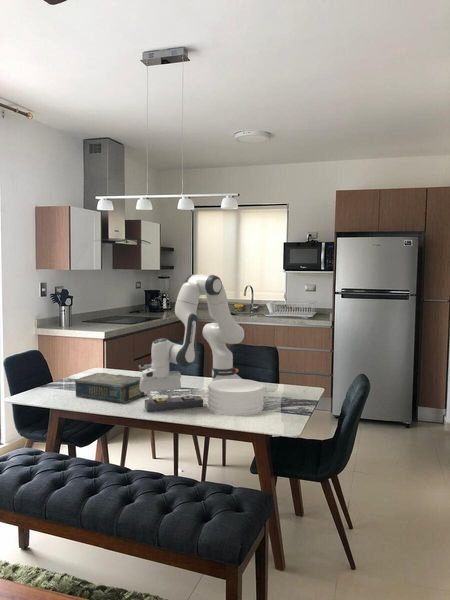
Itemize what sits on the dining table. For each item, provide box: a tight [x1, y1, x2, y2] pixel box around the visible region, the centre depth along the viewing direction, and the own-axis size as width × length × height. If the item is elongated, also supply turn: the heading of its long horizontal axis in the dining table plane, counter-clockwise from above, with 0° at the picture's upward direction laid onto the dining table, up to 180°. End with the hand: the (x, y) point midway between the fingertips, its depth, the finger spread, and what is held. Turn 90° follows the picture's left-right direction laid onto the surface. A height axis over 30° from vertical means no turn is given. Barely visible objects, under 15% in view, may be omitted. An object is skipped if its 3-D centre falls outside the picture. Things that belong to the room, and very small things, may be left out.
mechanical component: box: [137, 363, 152, 373], centre depth 300 cm, size 3×10×10 cm, turn 107°
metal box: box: [74, 372, 145, 405], centre depth 264 cm, size 21×32×10 cm, turn 65°
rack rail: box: [144, 395, 204, 413], centre depth 243 cm, size 28×8×4 cm, turn 109°
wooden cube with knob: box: [154, 397, 166, 403], centre depth 240 cm, size 4×4×5 cm
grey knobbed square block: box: [181, 395, 193, 401], centre depth 245 cm, size 4×4×5 cm
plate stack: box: [207, 378, 265, 416], centre depth 245 cm, size 28×28×12 cm
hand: (160, 399), depth 240 cm, fingers open, 8 cm apart
